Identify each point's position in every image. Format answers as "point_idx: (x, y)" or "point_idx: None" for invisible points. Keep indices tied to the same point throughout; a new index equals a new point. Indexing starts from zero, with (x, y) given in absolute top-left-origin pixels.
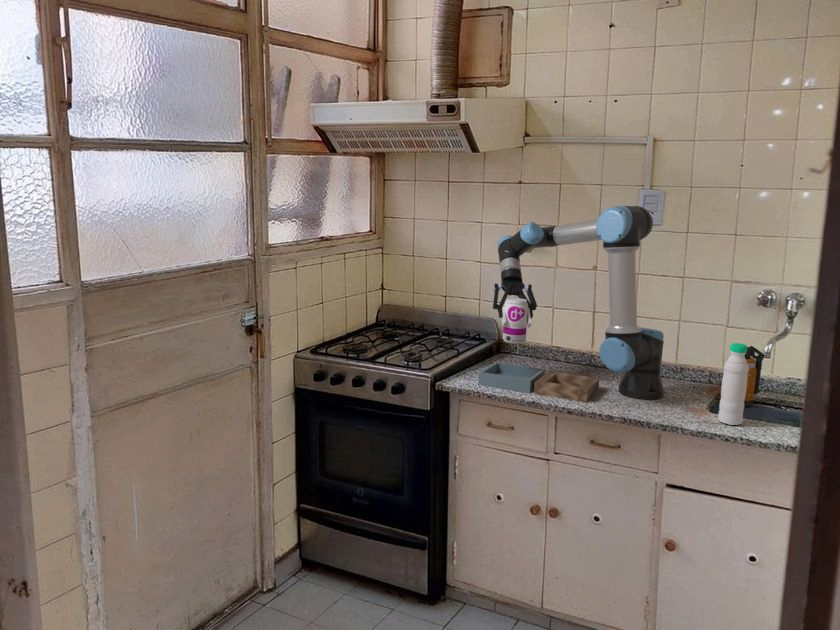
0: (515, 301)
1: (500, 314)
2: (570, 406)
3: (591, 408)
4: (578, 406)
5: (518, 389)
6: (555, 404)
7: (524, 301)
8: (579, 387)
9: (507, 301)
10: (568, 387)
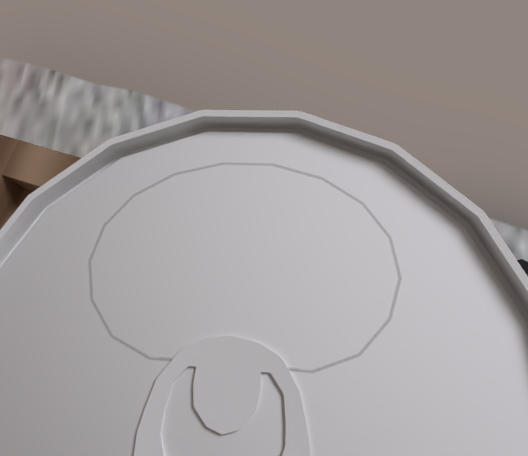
0: (259, 115)
1: (525, 271)
2: (85, 90)
3: (16, 89)
4: (57, 98)
5: None
6: (136, 97)
7: (9, 225)
8: (7, 169)
9: (500, 256)
10: (54, 155)
